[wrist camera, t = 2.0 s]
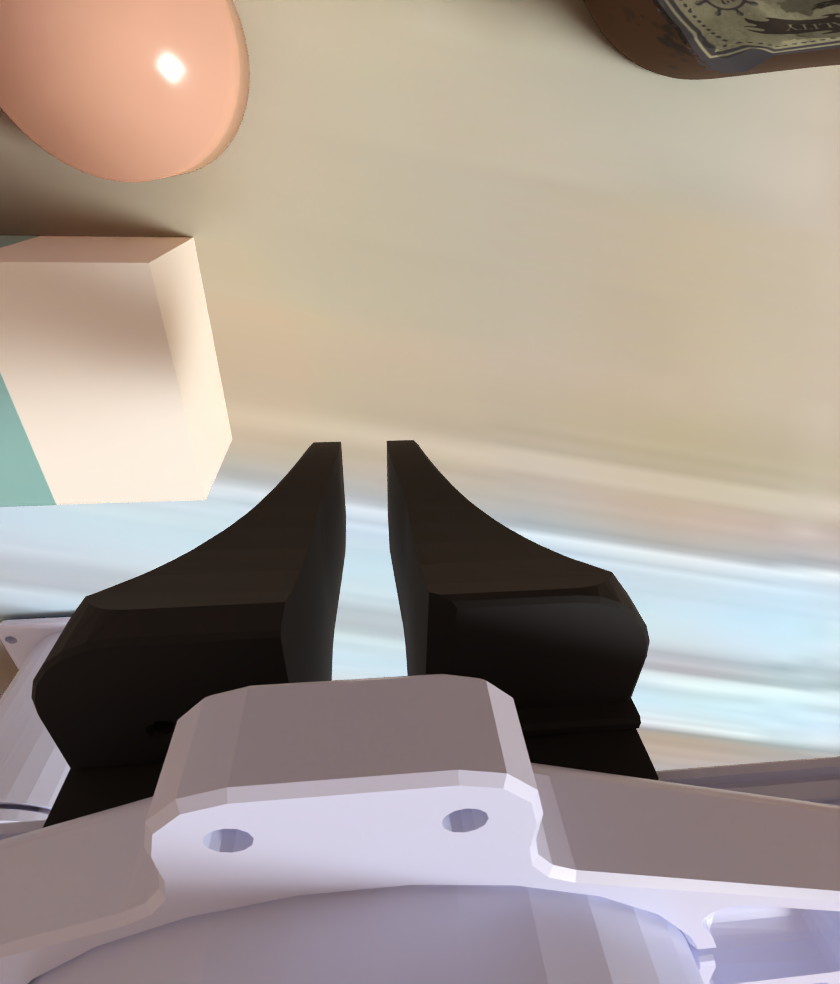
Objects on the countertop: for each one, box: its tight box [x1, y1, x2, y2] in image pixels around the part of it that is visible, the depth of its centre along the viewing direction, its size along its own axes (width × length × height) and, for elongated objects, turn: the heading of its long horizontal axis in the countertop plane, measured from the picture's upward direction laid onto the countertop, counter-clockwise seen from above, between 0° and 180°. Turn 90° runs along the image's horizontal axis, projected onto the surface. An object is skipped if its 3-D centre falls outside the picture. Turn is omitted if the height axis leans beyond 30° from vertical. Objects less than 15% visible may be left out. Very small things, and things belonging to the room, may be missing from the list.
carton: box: [0, 235, 232, 507], centre depth 18 cm, size 8×9×4 cm
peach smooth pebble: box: [0, 0, 250, 182], centre depth 14 cm, size 6×6×3 cm
